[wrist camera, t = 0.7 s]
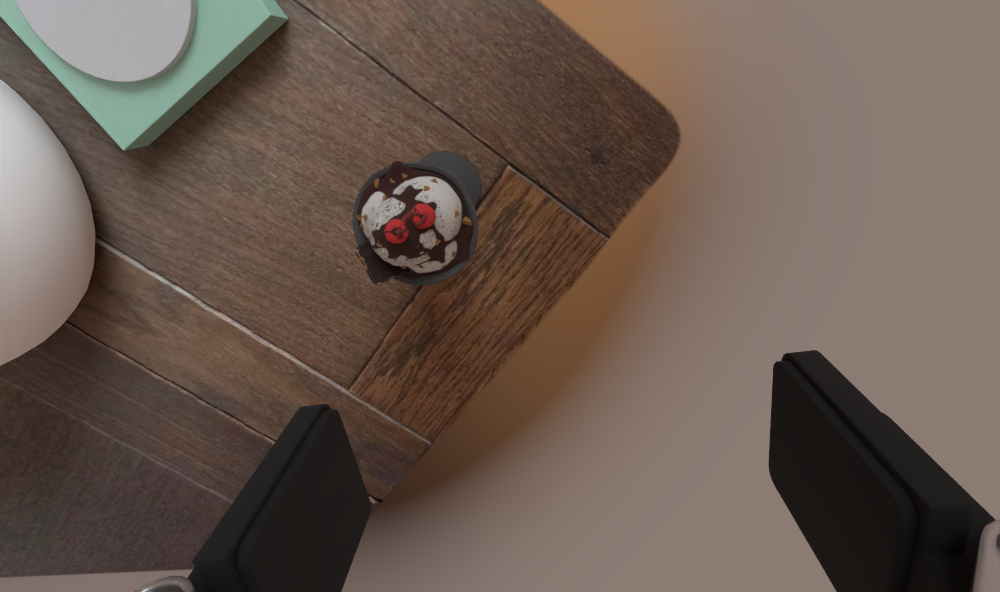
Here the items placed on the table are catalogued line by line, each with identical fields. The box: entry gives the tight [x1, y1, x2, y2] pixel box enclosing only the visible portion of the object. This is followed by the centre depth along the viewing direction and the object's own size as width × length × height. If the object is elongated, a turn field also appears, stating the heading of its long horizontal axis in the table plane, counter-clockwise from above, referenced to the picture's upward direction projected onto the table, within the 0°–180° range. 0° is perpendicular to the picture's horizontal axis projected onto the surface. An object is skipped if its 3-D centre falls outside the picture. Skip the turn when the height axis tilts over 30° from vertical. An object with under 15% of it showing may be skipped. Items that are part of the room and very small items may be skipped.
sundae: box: [353, 151, 481, 285], centre depth 29 cm, size 7×7×15 cm
